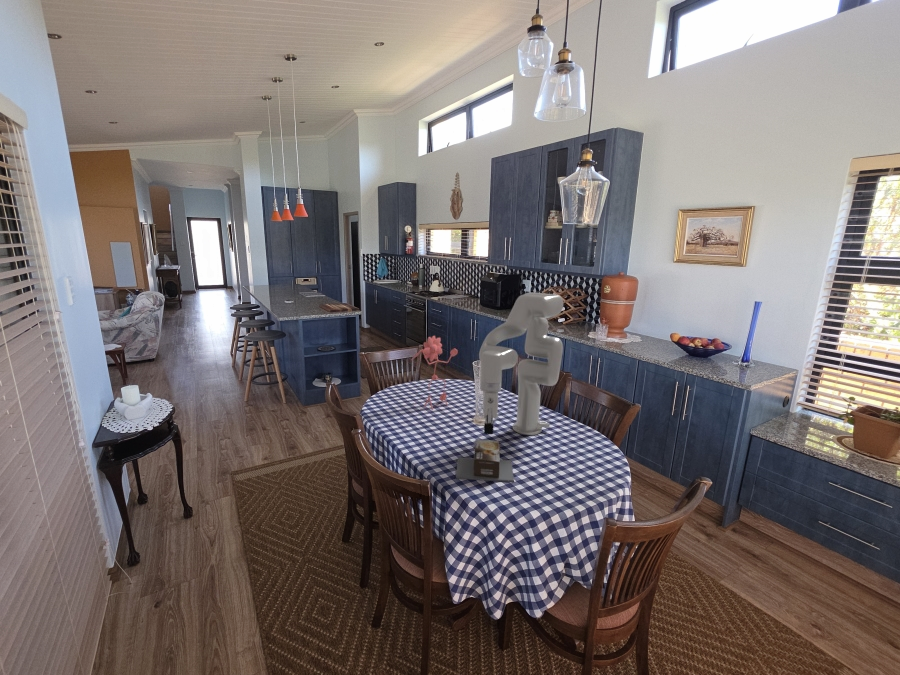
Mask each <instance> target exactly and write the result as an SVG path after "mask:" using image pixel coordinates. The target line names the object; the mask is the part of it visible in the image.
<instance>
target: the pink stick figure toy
mask: <svg viewBox="0 0 900 675" xmlns="http://www.w3.org/2000/svg"><path fill="white" fill-rule="evenodd" d="M441 339H442V338H441V337H436V335H432V336H428V337H427V341H424V342H423V347H424V348H423V349H422V348H421V349H420V350H419V351H418V352H417V353H415V355H413V357H412V358H411V359H410V361H413V360H414V359H415V358H417V357H418V356H419V355H420V354H421V353H422V354H423V357H424V359H425V361H426V362H427V364H428V365H432V364H434V371H433V375H432V376H431V380H430V383H429V384H428V389H430V386H431V383H432V382H433V381H436V380H440V381H443V382H444V384H443V389H445V387H446V386H445V384H446V380H444V379H442V378H439V377H438V375H437V374H436V369H437V365H438V363H445V364H448V363H449V362H450V360H451V358H452V357H453V358H454V357H455V356H457V355H458V353H459V352H458V349H456V348H452V349H451V350H450V352H449V353H450V356H449V358H448V360H447V361H443V360H439V355H442V354H443V348H442V347H443V344H442V343H441ZM428 359H429V360H428ZM434 360H435V361H434ZM429 361H430V362H429ZM430 398H432V396H429V397H427V399H426V401H425V403H424V404H423V408H425V407H426V405H427V404H428V403H429V404H430V406H431V407H430V408H431V410H432V411H434V408H433V404H432V401H431V399H430ZM446 398H447V393H446V392H445V390H443V393H442V394H441V395H440V396H439V401H441V402H445V406H446V405H447V406H448V402H447V400H446ZM413 405H415V403H414V402H413Z"/></svg>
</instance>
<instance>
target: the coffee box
mask: <svg viewBox="0 0 900 675" xmlns="http://www.w3.org/2000/svg"><path fill="white" fill-rule="evenodd" d="M473 458H474V476H483V477H496V478H499V463H500V460H501V459H500V442H499V440H490V439H489V440H488V439H475V440H474V454H473Z"/></svg>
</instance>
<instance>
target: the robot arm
mask: <svg viewBox="0 0 900 675" xmlns="http://www.w3.org/2000/svg"><path fill="white" fill-rule="evenodd" d="M563 309H564V300H563V298H562V296H561V295H559V294H555V293H544V292H543V293H542V292H526V293H524V294H522V295H519V296H518V297H517V298H516V299H515V302H514V305H513V306H512V308H511V311H510V312H509V315H508V316H507V318H506V321H505V322H504V323H501V324H499V325H498V326H497V327H495V328H493V329H492V330H491V331H489V333H488V334H487V335H486V337H485V338H484V340H483V342H482V344H481V347H480V348H479V352H478V358H479V361H480V378H479V380H480V381H479V390H480V391H481V392H482V408H483V409H482V411H483V412H482V413H483V418H484V423H483V424H484V425H483V427H484V428H483V429H484V430H483V433H484V435H493V434H494V420H497V419H498V412H499V411H498V410H499V393H500V392H501V390H502V378H503V370H509V369H511V368H514V367H515V366H516V364H517V363H518V361H519V355H518V352H517V351H516V350H515V349H513V348H511V347H505V346H500V345H498V344H499V343H501V342H502V341H503V342H504V341H505V340H508V339H512V338H517V337H520V336H523V335H525V334H526V336H525V341H524V352H525V354H526V355H528V356H530V357H534V358H539V359H540V358H541V359H545V360H546V359H547V362H546V361H543V360H542V361H541V360H537V359H530V358H528V359H527V358H526V359H525V358H524V359H522V360H521V361H519V363H518V365H517V369H516V370H517V373H516V374H517V380H518V388H517V389H518V390H517V391H518V393H517V394H518V395H517V409H516V422H514V423H513V424H512V430H513V431H514V432H516V433H518V434H520V435H525V436H534V435H539V434H540V433H541V432H542V430H543V429H542V428H550V427H551V426H550V422H546V421H545V420H542V421H541V420H540V409H541V408H540V407H541V406H540V405H541V395H542V394H541V392H542V391H541V388H540V386H539V385H543V386H547V387H549V386H550V387H553V386H555V385H556V384H558V380H559V377H560V370H561V366H562V357H563V352H564V345H563V342H562V340H561V339H560V338H559V337H557V336H548V332H549V321H548V319H551V318H553V317H556V316H558V315H560V314H561V312H562V311H563Z"/></svg>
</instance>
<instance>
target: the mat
mask: <svg viewBox="0 0 900 675" xmlns="http://www.w3.org/2000/svg"><path fill="white" fill-rule="evenodd" d="M499 460H500V463H499V478H496V477H483V476H474V457H473V458H471V457H457V464H456V472H455V473H456V474H455V479H456V480H457V479H458V480H469V481H470V480H471V481H472V480H473V481H476V480H477V481H489V482H490V481H491V482H492V481H493V482H494V481H495V482H506V483H507V482H509V483H513V482H515V478H514V472H513V471H514V470H513V463H512V459H511V460H508V459H499Z"/></svg>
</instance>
